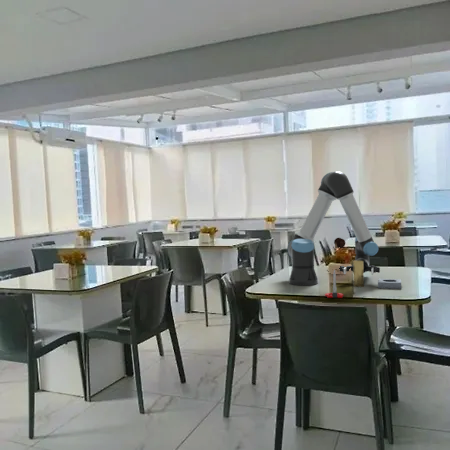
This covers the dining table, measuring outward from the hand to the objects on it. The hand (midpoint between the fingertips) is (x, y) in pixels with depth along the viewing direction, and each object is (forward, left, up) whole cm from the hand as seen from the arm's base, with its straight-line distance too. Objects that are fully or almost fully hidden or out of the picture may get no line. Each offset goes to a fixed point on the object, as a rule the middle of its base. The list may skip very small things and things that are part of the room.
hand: (358, 271), depth 243 cm
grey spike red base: (-9, -24, -8) cm, 27 cm away
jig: (+15, +4, -8) cm, 17 cm away
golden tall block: (0, +3, -8) cm, 8 cm away
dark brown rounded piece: (-15, +54, -8) cm, 57 cm away
